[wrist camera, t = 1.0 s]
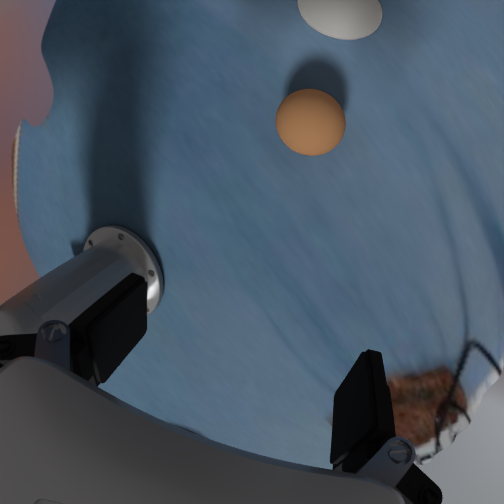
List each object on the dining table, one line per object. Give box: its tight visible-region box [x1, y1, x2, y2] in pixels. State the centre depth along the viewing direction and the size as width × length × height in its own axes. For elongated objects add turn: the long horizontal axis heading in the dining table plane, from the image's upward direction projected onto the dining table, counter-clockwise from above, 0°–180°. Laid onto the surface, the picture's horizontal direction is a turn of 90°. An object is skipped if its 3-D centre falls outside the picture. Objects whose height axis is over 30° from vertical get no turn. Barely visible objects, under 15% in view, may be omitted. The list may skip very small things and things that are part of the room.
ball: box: [276, 89, 345, 156], centre depth 20 cm, size 6×6×6 cm
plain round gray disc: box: [298, 0, 382, 40], centre depth 17 cm, size 8×8×1 cm
